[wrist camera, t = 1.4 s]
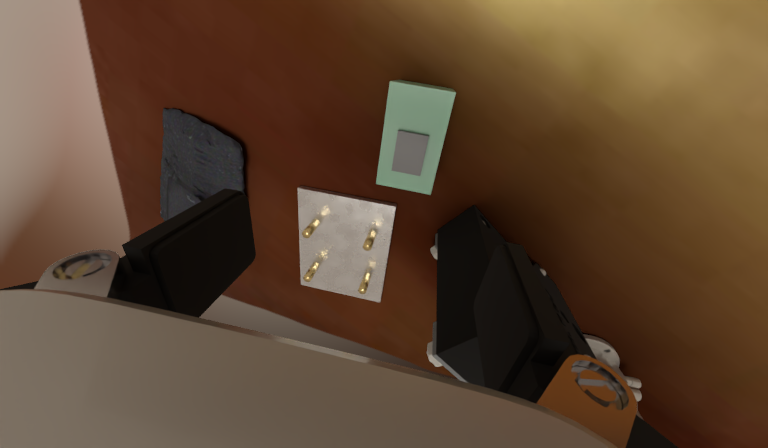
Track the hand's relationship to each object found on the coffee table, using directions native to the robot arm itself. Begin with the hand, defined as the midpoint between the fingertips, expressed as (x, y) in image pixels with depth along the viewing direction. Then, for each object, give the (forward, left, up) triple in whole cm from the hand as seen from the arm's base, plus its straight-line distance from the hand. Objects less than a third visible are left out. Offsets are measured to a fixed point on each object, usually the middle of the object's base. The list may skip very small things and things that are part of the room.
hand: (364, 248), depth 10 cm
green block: (0, 0, -26) cm, 26 cm away
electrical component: (-14, +16, -26) cm, 34 cm away
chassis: (+8, +19, -26) cm, 33 cm away
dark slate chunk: (+30, +14, -27) cm, 43 cm away
